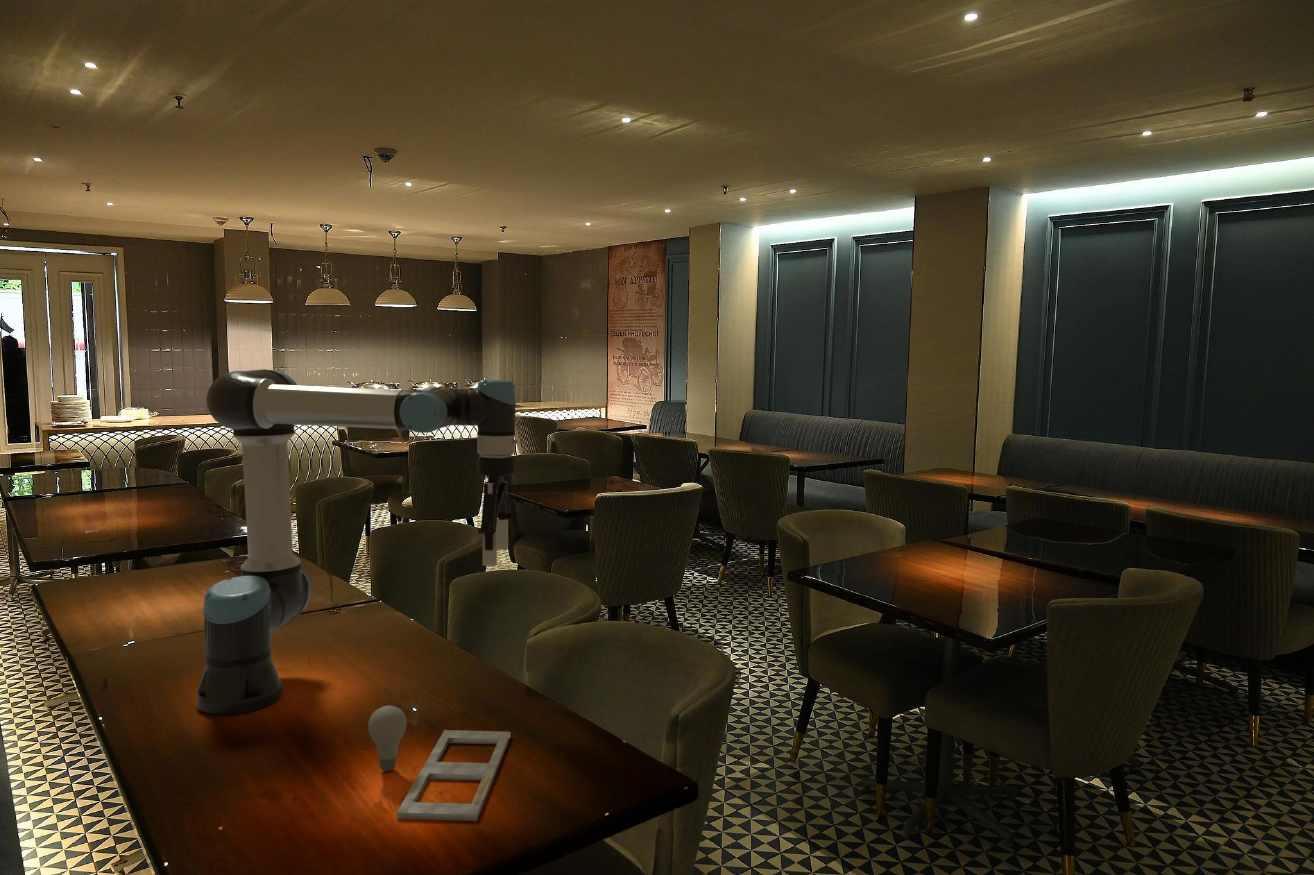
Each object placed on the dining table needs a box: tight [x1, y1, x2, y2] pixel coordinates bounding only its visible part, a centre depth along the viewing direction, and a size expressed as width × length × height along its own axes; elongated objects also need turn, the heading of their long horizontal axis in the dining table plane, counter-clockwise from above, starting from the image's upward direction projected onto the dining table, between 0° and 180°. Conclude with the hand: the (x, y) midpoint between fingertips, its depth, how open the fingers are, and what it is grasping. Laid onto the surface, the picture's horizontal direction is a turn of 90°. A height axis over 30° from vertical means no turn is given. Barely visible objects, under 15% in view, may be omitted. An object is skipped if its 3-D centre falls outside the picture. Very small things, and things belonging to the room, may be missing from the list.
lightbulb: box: [367, 705, 408, 772], centre depth 142 cm, size 6×6×11 cm
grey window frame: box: [396, 729, 511, 822], centre depth 142 cm, size 12×28×1 cm, turn 0°
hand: (495, 557), depth 178 cm, fingers open, 13 cm apart
